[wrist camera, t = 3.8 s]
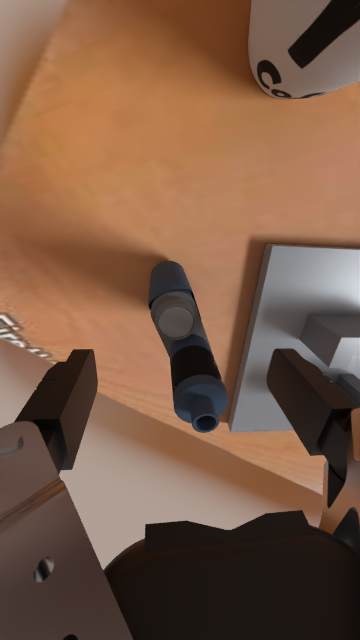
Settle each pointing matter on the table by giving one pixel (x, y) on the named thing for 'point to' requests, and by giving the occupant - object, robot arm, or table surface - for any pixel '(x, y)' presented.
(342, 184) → the table surface
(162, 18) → the table surface
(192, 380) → the vaping device
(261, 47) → the cup
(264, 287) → the dock
